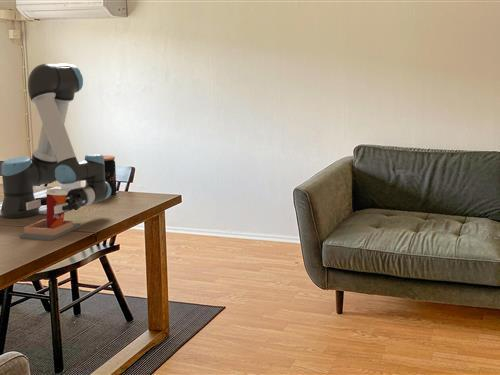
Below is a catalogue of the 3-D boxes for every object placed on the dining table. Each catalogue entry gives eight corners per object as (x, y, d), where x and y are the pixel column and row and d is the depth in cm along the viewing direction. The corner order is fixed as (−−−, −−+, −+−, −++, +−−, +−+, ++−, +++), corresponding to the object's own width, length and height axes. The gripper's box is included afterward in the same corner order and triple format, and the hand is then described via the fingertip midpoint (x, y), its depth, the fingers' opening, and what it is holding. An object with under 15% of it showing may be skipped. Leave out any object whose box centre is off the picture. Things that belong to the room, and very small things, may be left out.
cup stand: (20, 237, 223) (19, 228, 222) (52, 224, 242) (51, 215, 241) (51, 240, 219) (50, 231, 219) (81, 226, 238) (80, 217, 238)
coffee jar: (105, 197, 289) (103, 159, 286) (89, 194, 295) (87, 157, 291) (121, 193, 298) (119, 156, 295) (105, 190, 304) (103, 154, 300)
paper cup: (58, 230, 224) (60, 192, 222) (39, 227, 225) (41, 189, 224) (69, 226, 231) (71, 190, 230) (51, 224, 233) (53, 187, 231)
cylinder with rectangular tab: (57, 199, 285) (56, 174, 283) (68, 195, 294) (67, 170, 291) (74, 200, 283) (73, 175, 280) (85, 196, 291) (83, 171, 289)
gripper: (106, 209, 238) (67, 222, 220) (57, 203, 249) (16, 214, 230) (105, 190, 237) (66, 201, 218) (55, 185, 248) (15, 195, 229)
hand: (40, 208), depth 224 cm, fingers open, 13 cm apart
